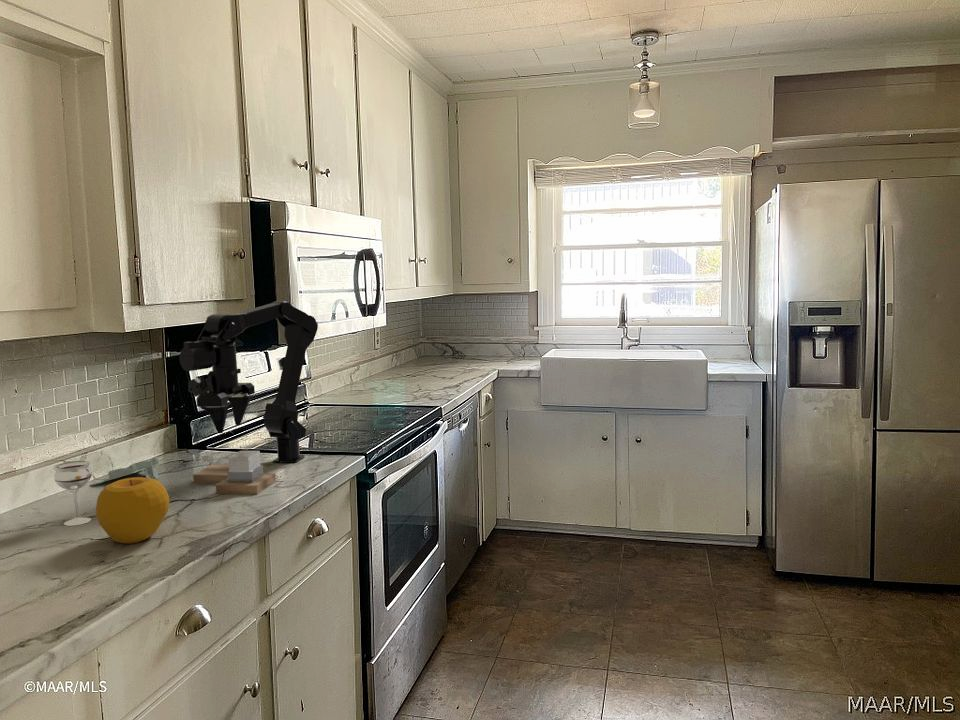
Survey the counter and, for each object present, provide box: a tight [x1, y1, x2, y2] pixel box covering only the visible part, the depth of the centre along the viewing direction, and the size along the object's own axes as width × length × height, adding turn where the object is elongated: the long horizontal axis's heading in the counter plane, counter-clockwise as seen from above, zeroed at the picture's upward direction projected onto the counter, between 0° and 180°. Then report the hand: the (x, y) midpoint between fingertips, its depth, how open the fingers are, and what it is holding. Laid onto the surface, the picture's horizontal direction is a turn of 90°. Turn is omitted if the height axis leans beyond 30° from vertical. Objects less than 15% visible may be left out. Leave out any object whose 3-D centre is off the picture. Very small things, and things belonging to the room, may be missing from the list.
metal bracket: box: [89, 456, 167, 487], centre depth 186 cm, size 14×6×15 cm
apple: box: [95, 476, 171, 545], centre depth 143 cm, size 13×13×11 cm
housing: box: [227, 450, 265, 483], centre depth 175 cm, size 6×6×6 cm
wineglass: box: [53, 460, 92, 527], centre depth 154 cm, size 7×7×12 cm
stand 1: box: [192, 463, 229, 484], centre depth 184 cm, size 10×10×2 cm
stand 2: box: [215, 472, 277, 495], centre depth 175 cm, size 10×10×2 cm
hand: (229, 428), depth 184 cm, fingers open, 9 cm apart
